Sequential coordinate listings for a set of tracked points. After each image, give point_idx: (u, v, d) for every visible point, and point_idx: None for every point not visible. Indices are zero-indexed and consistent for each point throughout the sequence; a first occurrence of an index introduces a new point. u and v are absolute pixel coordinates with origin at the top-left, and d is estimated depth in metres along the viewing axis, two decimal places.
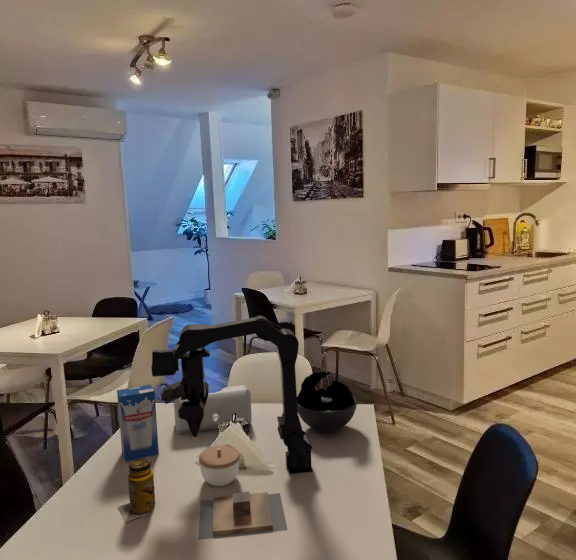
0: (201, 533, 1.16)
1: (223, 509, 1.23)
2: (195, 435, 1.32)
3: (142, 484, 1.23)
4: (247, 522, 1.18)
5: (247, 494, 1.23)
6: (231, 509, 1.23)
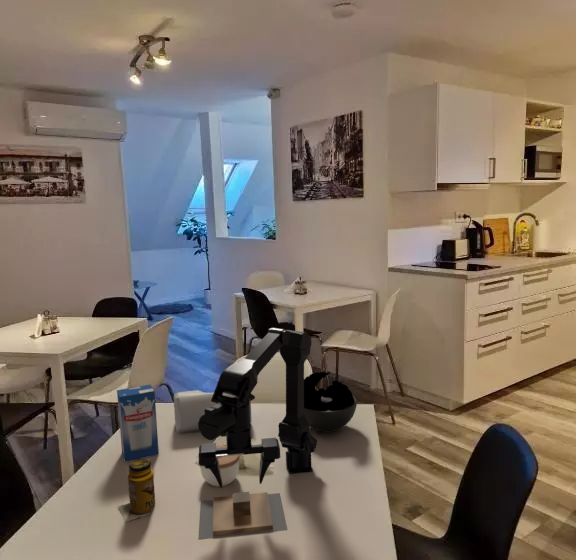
0: (201, 533, 1.16)
1: (223, 509, 1.23)
2: None
3: (142, 484, 1.23)
4: (247, 522, 1.18)
5: (247, 494, 1.23)
6: (231, 509, 1.23)
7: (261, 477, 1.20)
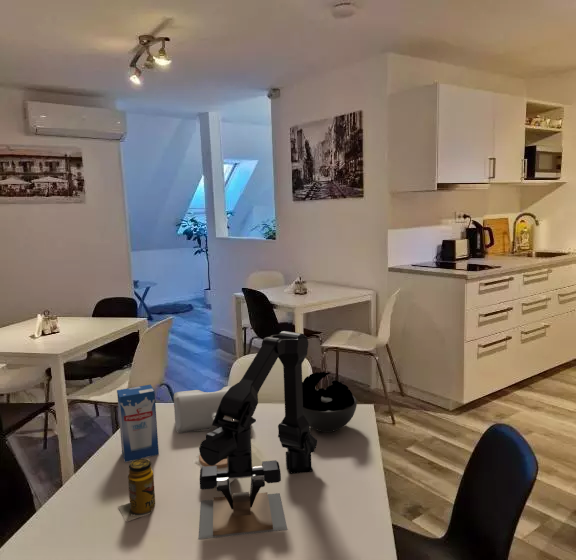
0: (201, 533, 1.16)
1: (223, 509, 1.23)
2: None
3: (142, 484, 1.23)
4: (247, 522, 1.18)
5: (247, 494, 1.23)
6: (231, 509, 1.23)
7: (251, 501, 1.21)
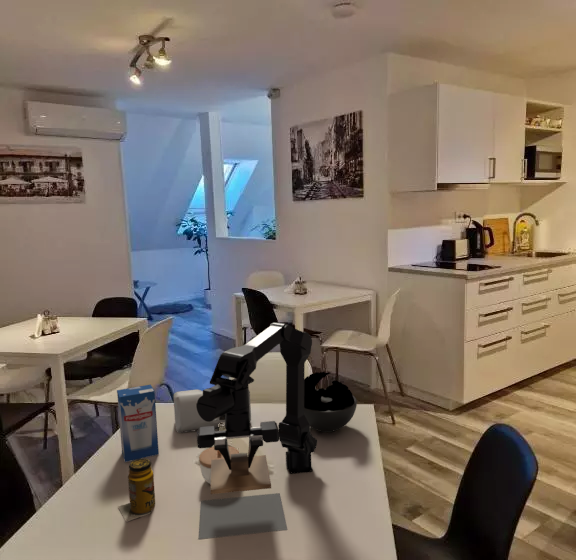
0: (201, 533, 1.16)
1: (221, 470, 1.22)
2: None
3: (142, 484, 1.23)
4: (245, 482, 1.16)
5: (245, 455, 1.22)
6: (229, 470, 1.22)
7: (249, 461, 1.20)
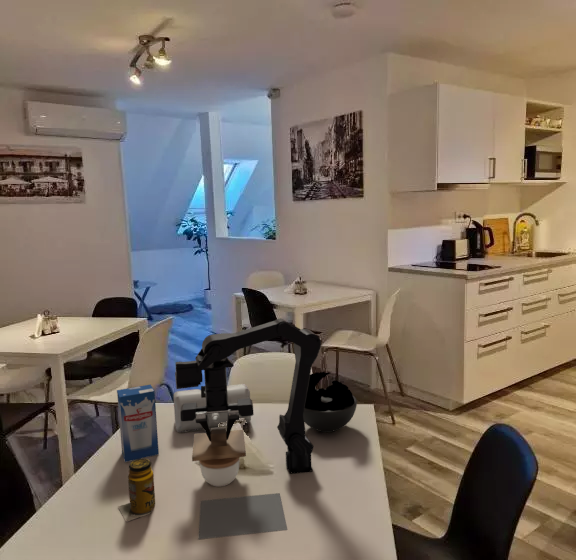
0: (201, 533, 1.16)
1: (203, 442, 1.37)
2: None
3: (142, 484, 1.23)
4: (223, 451, 1.32)
5: (224, 428, 1.37)
6: (209, 442, 1.37)
7: (227, 433, 1.35)
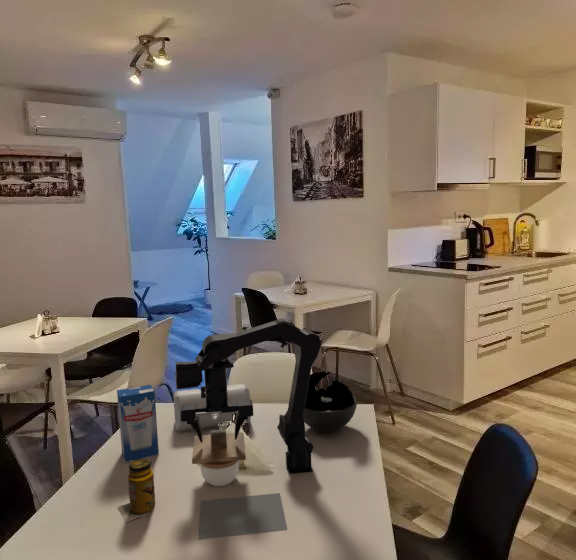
0: (201, 533, 1.16)
1: (203, 444, 1.37)
2: None
3: (142, 484, 1.23)
4: (223, 454, 1.32)
5: (224, 431, 1.37)
6: (209, 444, 1.37)
7: (236, 433, 1.35)
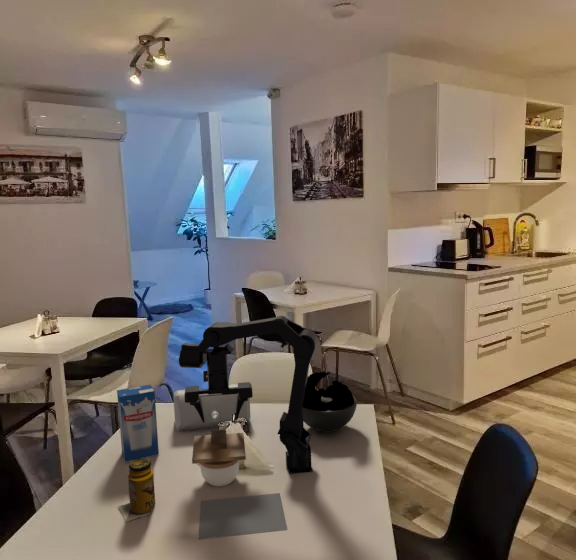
0: (201, 533, 1.16)
1: (203, 444, 1.37)
2: None
3: (142, 484, 1.23)
4: (223, 453, 1.32)
5: (224, 431, 1.37)
6: (209, 444, 1.37)
7: (237, 414, 1.45)
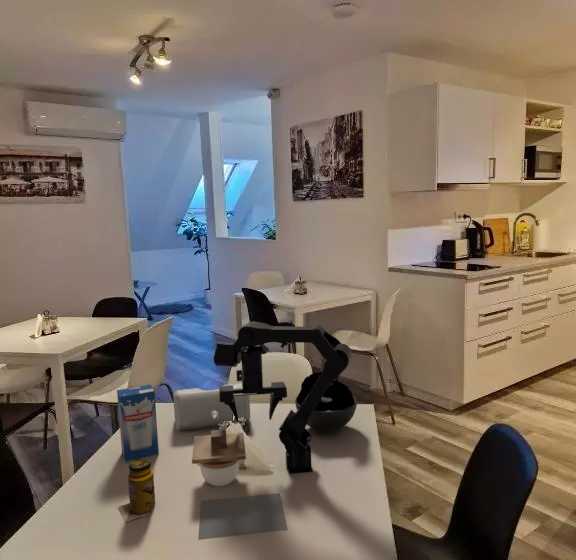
0: (201, 533, 1.16)
1: (203, 444, 1.37)
2: (236, 420, 1.44)
3: (142, 484, 1.23)
4: (223, 453, 1.32)
5: (224, 431, 1.37)
6: (209, 444, 1.37)
7: (271, 414, 1.44)
